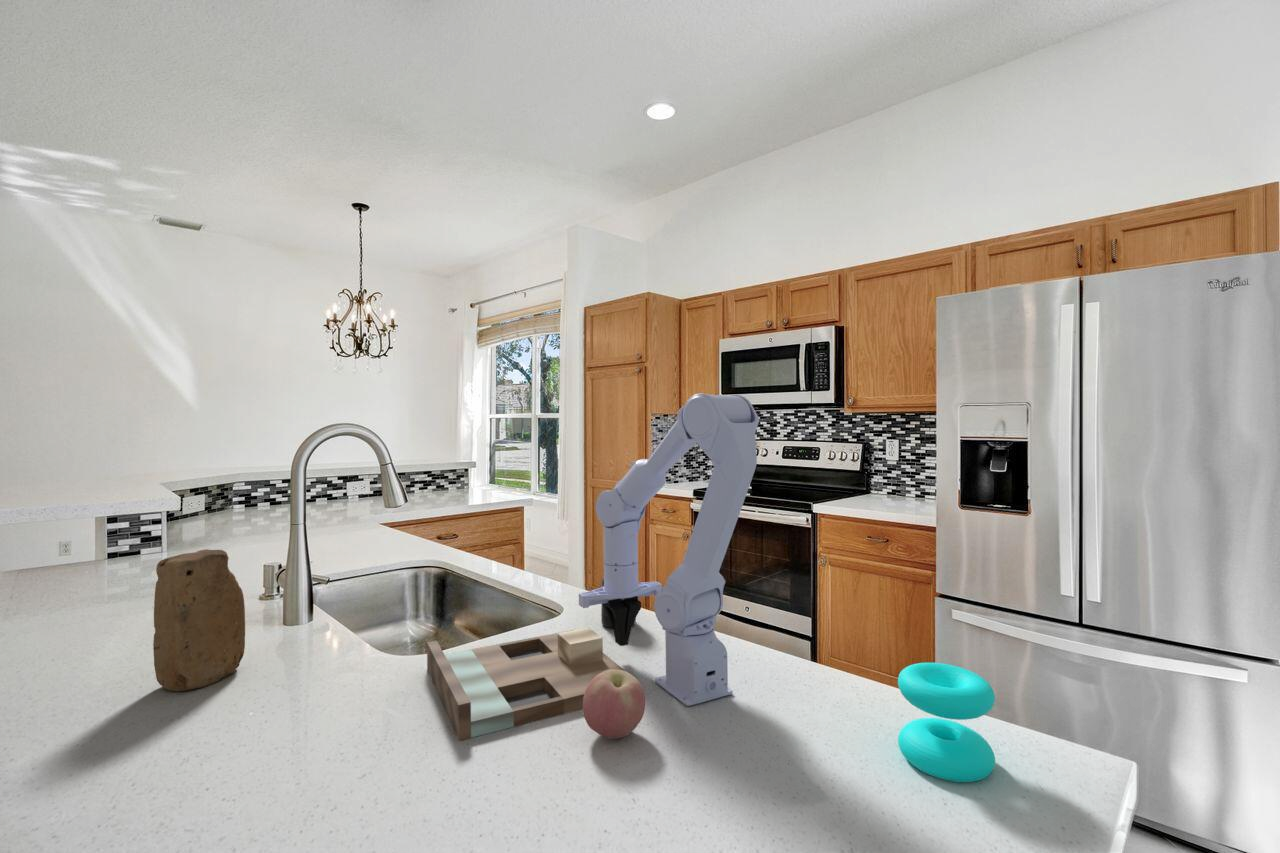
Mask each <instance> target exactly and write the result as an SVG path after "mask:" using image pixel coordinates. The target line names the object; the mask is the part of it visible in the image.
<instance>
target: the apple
mask: <svg viewBox="0 0 1280 853" xmlns="http://www.w3.org/2000/svg"><path fill="white" fill-rule="evenodd" d="M645 710H646V693H645V690H644V688H643V686H642V684H641V683H640V681H639V680H638V679H637V678H636V677H635V676H634V675H632V674H631V673H629V672H628V671H626V670H625V671H623V670H618V669H610V670H606V671H604V672H602V673H600V674H598V675H597V676H596V677H594V678H593V679H592V681H591V682H590V683H589V685H588V686H587V688H586V691H585V693H584V697H583V709H582V713H583V719H584V720H585V723H586V724H587V726H588V727H589V728H590V730H592V731H593V732H595V733H597V734H598V735H599V736H600V737H604V738H608V739H611V740H612V739H616V740H617V739H623V738H625V737H627V736H629V735H630V734H631V733H632V732H633V731H634V730H635V729H636V728H637V727H638V725H639V724H640V723H641V722H642V719H643V717H644V715H645Z"/></svg>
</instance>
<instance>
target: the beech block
mask: <svg viewBox="0 0 1280 853" xmlns="http://www.w3.org/2000/svg"><path fill="white" fill-rule="evenodd" d="M572 630H573V631H571V630H567V632H565V631H561V632H562V633H560V632H557V633H558V656H559V657H561V658H562V659H563V660H564V661H565V662H566V663H567V664H568V665H569V666H570V667H573V666H577V665H582V664H586V663H591V662H595V661H600V660H603V653H604V652H603V650H604V646H603V643H604V641H603V637H602V636H601V635H600V634H598V633H596V632H595V631H594V630H593V629H591V628H590V627H585V628H580V629H572Z"/></svg>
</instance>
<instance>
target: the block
mask: <svg viewBox="0 0 1280 853" xmlns="http://www.w3.org/2000/svg"><path fill="white" fill-rule="evenodd" d="M155 569H156V571H155V572H156V575H157V581H156V583H155V588H154V602H153V603H154V604H153V605H154V606H153V627H154V635H153V644H152V645H153V647H152V649H153V664H154V665H153V667H154V671H155V679H156V681H157V682H158V684H159V686H161V687H163V688H164V689H166V690H168V691H171V692H181V691H182V692H183V691H190V690H197V689H200V688H204V687H207V686H209V685H211V684H214V683H216V682H218V681H220V680H221V679H222V678H226V677H228V676H229V675H231V674H233V673H234V672H236V670H237V668H238V667H239V666H240V663H241V661H242V660H243V657H244V654H245V649H246V648H245V647H246V610H245V609H246V606H245V599H244V598H245V597H244V596H245V595H244V593H243V589H242V588H241V587H240V584H239V582H238V581H237V577H236V576H235V574H234V573H233V572H232V571H230V569H229V555H228V553H227V551H225V550H223V549H202V550H201V549H200V550H197V551H195V552H186V553H181V554H178V555H173V556H169V557H166V558H163V559H161V560H160V561H159V562H158V563H157V565H156V568H155Z"/></svg>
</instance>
